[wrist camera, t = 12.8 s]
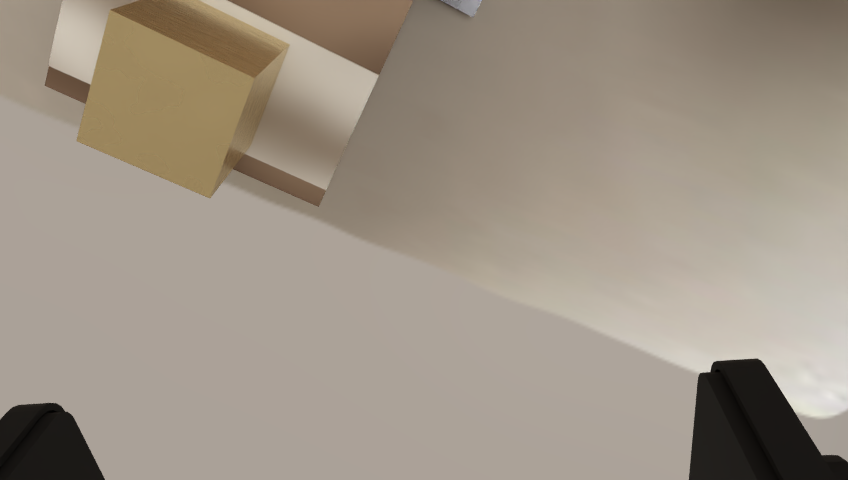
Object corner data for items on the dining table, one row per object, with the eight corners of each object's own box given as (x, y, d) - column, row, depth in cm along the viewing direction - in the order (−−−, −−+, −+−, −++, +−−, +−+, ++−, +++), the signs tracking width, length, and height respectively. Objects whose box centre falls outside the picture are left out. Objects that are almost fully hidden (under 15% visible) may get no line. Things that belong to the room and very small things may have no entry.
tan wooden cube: (289, 44, 27) (254, 78, 22) (250, 145, 30) (210, 198, 24) (175, -12, 27) (109, 9, 21) (143, 96, 29) (76, 141, 23)
